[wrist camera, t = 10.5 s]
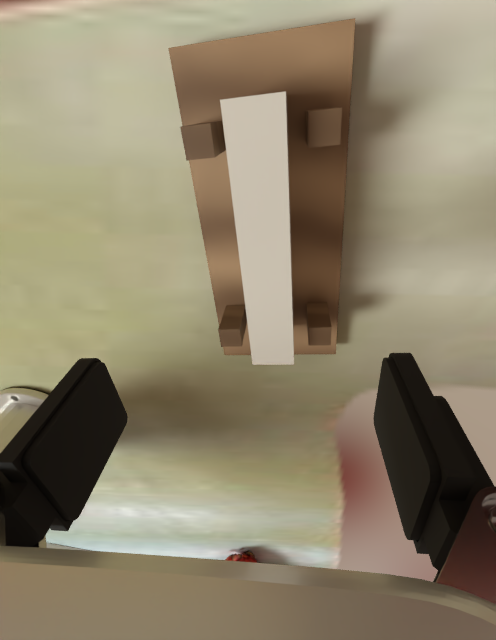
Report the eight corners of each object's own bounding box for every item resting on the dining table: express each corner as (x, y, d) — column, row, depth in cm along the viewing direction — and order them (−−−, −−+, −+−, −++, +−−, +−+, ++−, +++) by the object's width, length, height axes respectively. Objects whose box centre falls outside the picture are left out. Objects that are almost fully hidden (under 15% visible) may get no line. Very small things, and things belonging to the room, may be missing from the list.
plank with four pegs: (333, 343, 30) (340, 382, 25) (227, 345, 31) (217, 381, 27) (350, 24, 18) (369, -1, 13) (176, 51, 19) (144, 36, 15)
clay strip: (293, 325, 27) (294, 364, 23) (258, 325, 28) (252, 364, 23) (286, 94, 18) (285, 91, 14) (235, 101, 19) (219, 99, 15)
